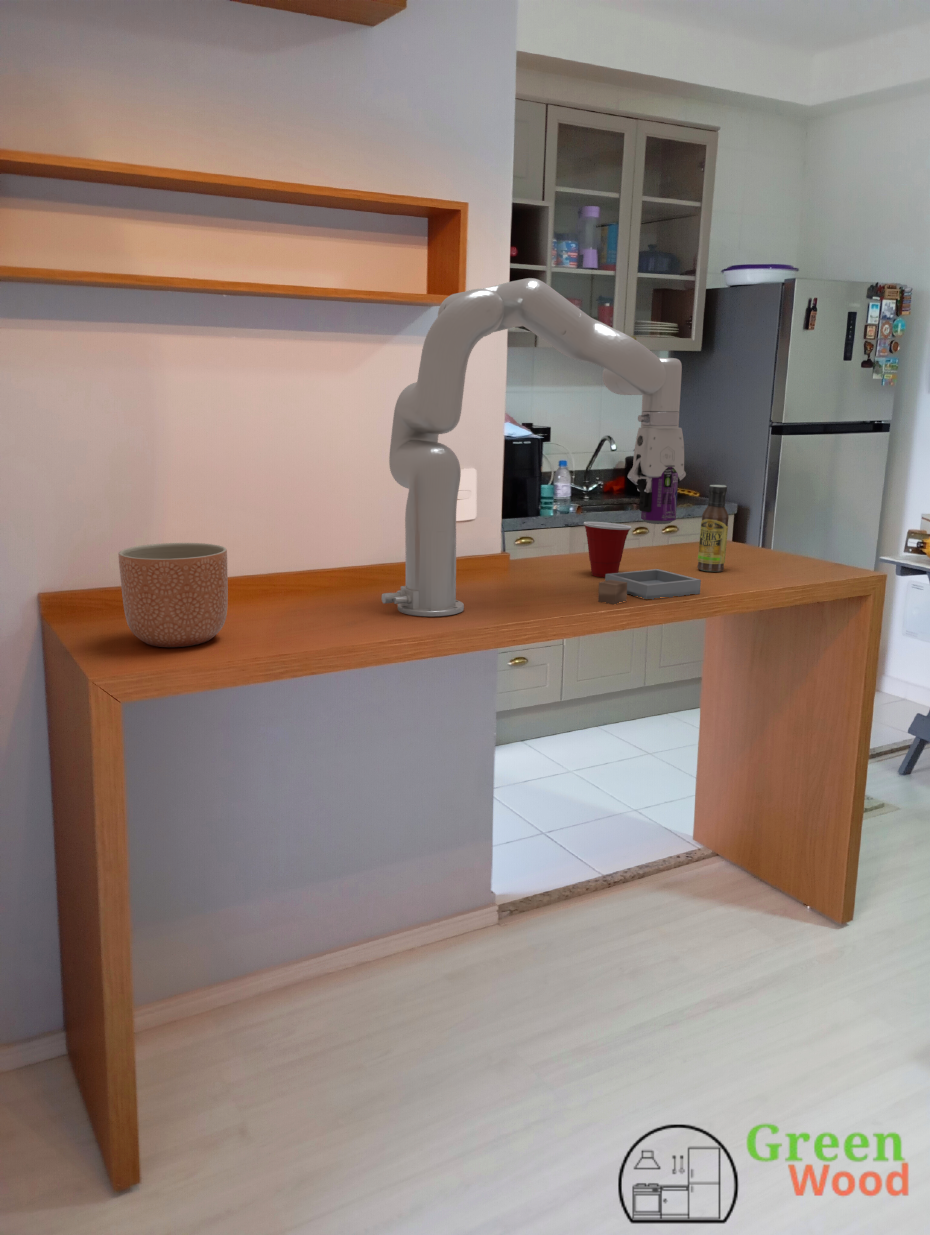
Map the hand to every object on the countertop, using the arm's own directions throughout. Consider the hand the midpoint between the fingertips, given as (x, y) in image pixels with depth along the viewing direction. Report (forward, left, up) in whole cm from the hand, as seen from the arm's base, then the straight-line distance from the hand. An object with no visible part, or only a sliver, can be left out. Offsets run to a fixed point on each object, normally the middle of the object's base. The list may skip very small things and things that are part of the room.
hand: (655, 509), depth 208 cm
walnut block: (-14, -5, -17) cm, 23 cm away
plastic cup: (+2, +19, -17) cm, 26 cm away
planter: (-98, +2, -17) cm, 99 cm away
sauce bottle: (+28, +13, -17) cm, 35 cm away
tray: (0, 0, -17) cm, 17 cm away
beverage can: (+1, 0, -3) cm, 3 cm away
